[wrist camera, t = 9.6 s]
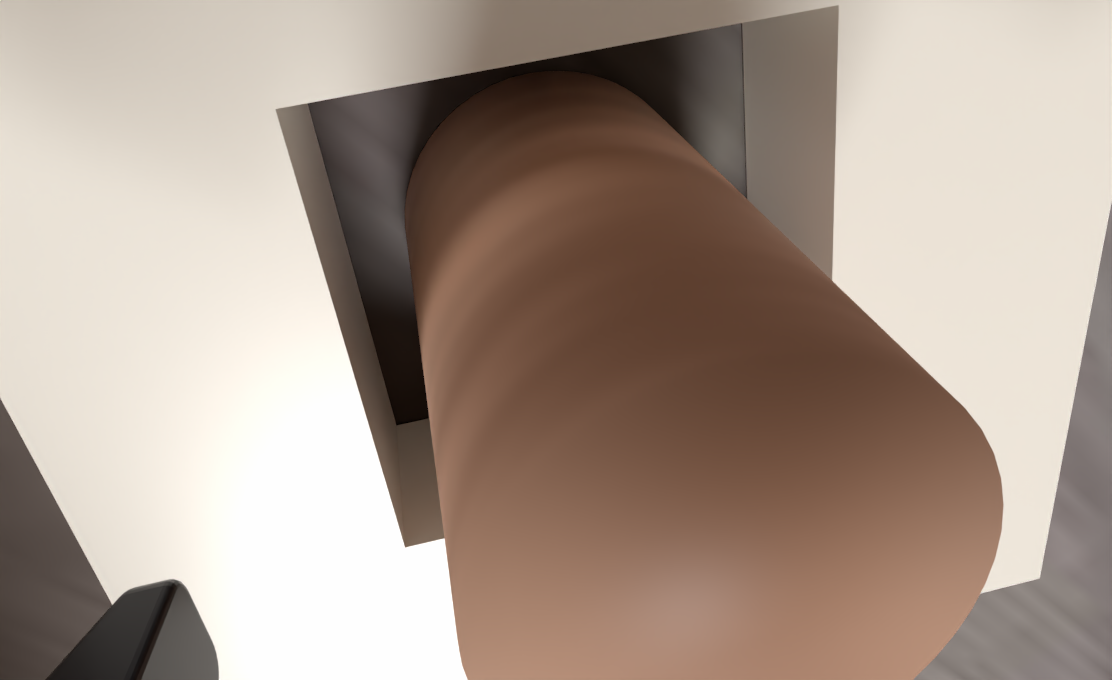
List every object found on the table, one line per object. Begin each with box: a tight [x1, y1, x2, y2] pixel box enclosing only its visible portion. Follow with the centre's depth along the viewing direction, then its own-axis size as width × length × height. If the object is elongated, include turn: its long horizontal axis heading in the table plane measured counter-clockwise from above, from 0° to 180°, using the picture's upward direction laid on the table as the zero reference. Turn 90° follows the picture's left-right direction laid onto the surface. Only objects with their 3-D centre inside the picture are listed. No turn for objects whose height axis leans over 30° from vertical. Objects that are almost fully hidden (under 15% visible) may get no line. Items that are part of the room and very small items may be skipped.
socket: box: [0, 0, 1112, 680], centre depth 13 cm, size 14×14×3 cm
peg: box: [405, 71, 1004, 680], centre depth 11 cm, size 4×4×8 cm
